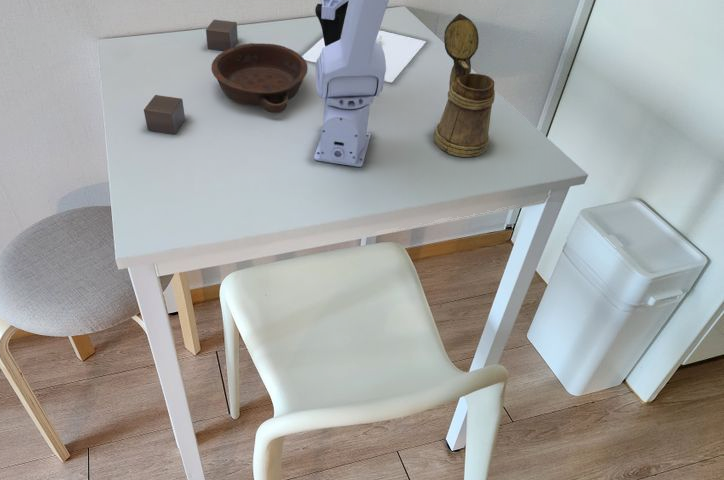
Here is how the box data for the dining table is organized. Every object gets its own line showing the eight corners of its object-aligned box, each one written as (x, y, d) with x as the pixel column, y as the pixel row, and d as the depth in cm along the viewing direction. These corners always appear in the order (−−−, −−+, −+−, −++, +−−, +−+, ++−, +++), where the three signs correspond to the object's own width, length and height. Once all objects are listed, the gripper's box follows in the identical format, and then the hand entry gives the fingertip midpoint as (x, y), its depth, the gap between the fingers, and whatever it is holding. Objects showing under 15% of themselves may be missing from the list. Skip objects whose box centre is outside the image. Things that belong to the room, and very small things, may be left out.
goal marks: (174, 134, 100) (171, 113, 97) (147, 130, 101) (143, 109, 98) (238, 41, 124) (236, 22, 121) (215, 38, 125) (213, 19, 122)
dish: (229, 128, 102) (227, 102, 98) (202, 68, 116) (199, 44, 112) (324, 112, 106) (325, 86, 102) (286, 56, 120) (286, 32, 116)
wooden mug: (460, 110, 107) (484, 9, 93) (497, 153, 98) (530, 48, 85) (414, 117, 105) (433, 15, 92) (448, 161, 96) (474, 55, 83)
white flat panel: (384, 41, 125) (387, 21, 122) (370, 56, 120) (372, 36, 117) (347, 31, 127) (348, 12, 124) (331, 46, 123) (332, 27, 120)
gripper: (323, -60, 96) (319, 22, 106) (303, -27, 87) (301, 60, 97) (365, -56, 95) (358, 27, 105) (350, -22, 86) (343, 66, 96)
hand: (333, 43), depth 101 cm, fingers open, 3 cm apart
